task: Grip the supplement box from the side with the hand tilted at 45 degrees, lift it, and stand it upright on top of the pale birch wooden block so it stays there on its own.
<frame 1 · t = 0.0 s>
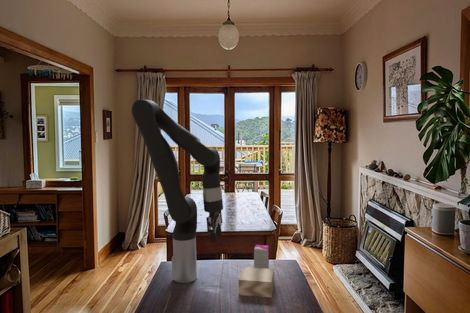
hand: (216, 238, 137), 17 cm above the table, tool pointing down, fingers open, 8 cm apart
birch block: (257, 289, 131), on the table
supplement box: (261, 274, 145), on the table
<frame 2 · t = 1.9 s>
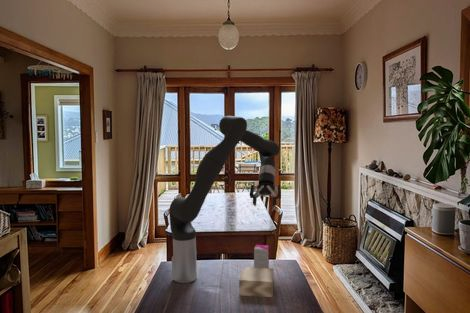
hand: (264, 205, 155), 26 cm above the table, tool tilted 45°, fingers open, 8 cm apart
nothing on the table moved.
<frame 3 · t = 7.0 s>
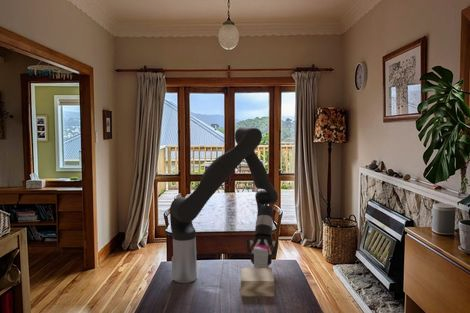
hand: (261, 263, 142), 5 cm above the table, tool tilted 45°, fingers closed on supplement box, 5 cm apart
supplement box: (261, 273, 145), on the table, touching gripper
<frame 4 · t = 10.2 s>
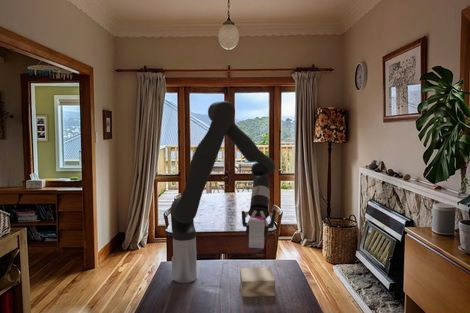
hand: (256, 236, 131), 20 cm above the table, tool tilted 45°, fingers closed on supplement box, 5 cm apart
supplement box: (257, 247, 133), point 15 cm above the table, touching gripper
everything else where it was.
when the fingers open (12 cm above the table, at t = 13.3 s): supplement box drops 2 cm, resting on birch block.
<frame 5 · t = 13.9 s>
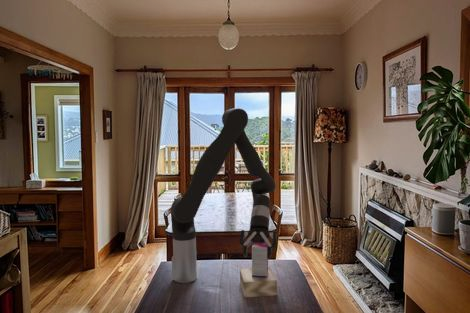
hand: (256, 257, 128), 13 cm above the table, tool tilted 45°, fingers open, 8 cm apart
birch block: (257, 289, 131), on the table, touching supplement box
supplement box: (260, 274, 130), point 5 cm above the table, touching birch block, gripper
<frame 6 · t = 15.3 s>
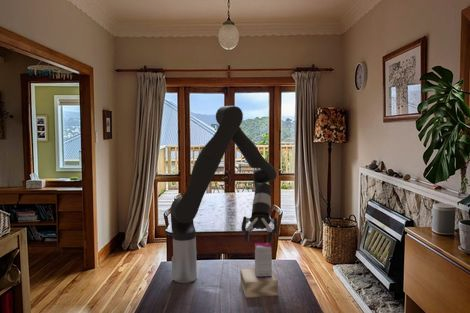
hand: (258, 241, 133), 17 cm above the table, tool tilted 45°, fingers open, 8 cm apart
supplement box: (263, 275, 130), point 5 cm above the table, touching birch block
everything else where it was.
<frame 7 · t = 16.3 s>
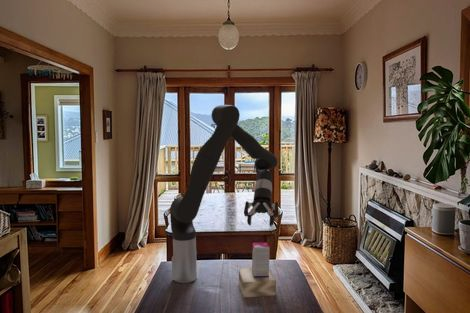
hand: (260, 225, 139), 22 cm above the table, tool tilted 45°, fingers open, 8 cm apart
birch block: (256, 289, 131), on the table
supplement box: (260, 274, 130), point 6 cm above the table
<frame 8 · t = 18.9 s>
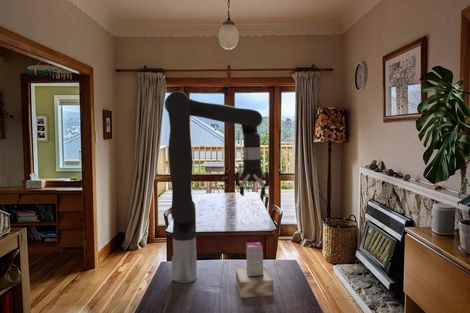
hand: (252, 195, 147), 32 cm above the table, tool pointing down, fingers open, 8 cm apart
birch block: (254, 289, 131), on the table, touching supplement box
supplement box: (255, 274, 130), point 6 cm above the table, touching birch block
at the end: supplement box inside the target area on the birch block (0.6 cm from its centre), point 5.9 cm above the birch block's base; supplement box tilted 1°; the gripper is holding nothing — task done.
